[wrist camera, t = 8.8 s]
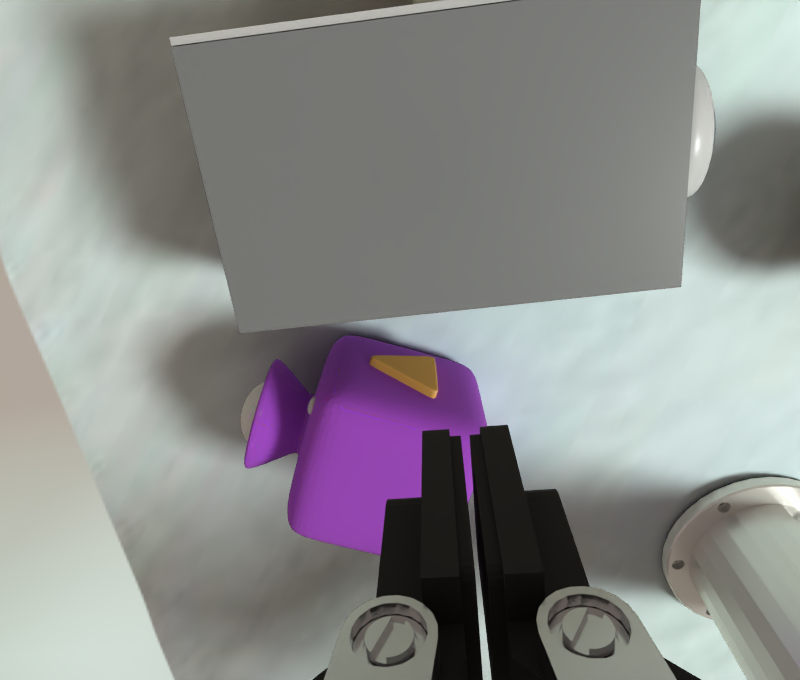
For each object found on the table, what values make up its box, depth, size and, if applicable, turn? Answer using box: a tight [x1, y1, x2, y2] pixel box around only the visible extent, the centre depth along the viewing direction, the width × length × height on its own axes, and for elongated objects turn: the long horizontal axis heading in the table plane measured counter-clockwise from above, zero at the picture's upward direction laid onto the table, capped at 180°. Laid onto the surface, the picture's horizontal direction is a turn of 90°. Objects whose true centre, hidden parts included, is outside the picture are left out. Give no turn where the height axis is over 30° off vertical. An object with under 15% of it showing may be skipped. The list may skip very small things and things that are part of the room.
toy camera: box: [241, 335, 487, 555], centre depth 35 cm, size 11×14×10 cm
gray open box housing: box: [169, 0, 715, 333], centre depth 29 cm, size 22×12×9 cm, turn 97°
